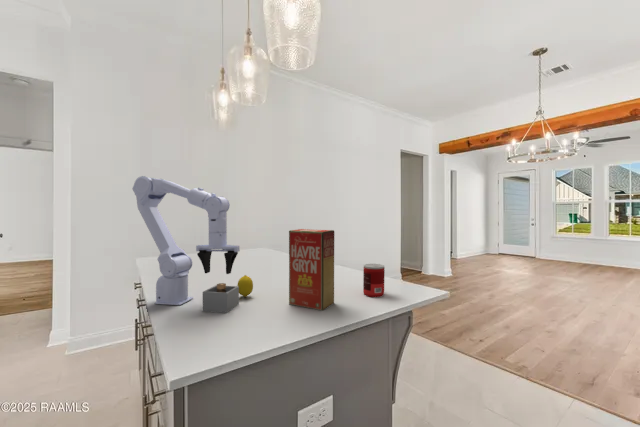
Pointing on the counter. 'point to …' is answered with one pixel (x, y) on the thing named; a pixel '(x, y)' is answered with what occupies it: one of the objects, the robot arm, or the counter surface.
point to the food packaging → (311, 268)
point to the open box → (220, 299)
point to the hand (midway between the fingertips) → (217, 273)
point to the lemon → (245, 285)
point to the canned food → (373, 280)
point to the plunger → (221, 287)
